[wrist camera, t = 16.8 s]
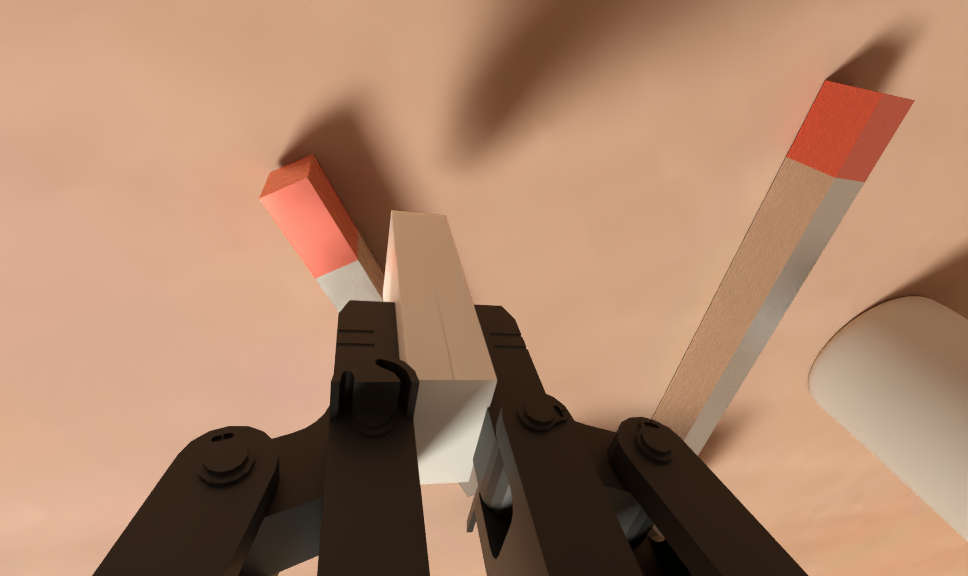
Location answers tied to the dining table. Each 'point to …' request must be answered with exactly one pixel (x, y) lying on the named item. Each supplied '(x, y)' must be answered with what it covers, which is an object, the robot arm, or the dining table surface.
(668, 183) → the dining table surface
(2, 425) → the dining table surface
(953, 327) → the mug
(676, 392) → the base
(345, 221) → the red-tipped stick
